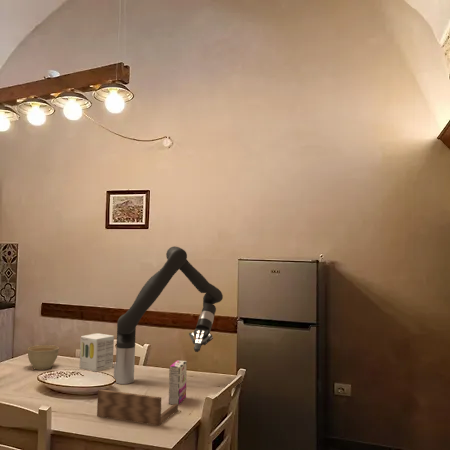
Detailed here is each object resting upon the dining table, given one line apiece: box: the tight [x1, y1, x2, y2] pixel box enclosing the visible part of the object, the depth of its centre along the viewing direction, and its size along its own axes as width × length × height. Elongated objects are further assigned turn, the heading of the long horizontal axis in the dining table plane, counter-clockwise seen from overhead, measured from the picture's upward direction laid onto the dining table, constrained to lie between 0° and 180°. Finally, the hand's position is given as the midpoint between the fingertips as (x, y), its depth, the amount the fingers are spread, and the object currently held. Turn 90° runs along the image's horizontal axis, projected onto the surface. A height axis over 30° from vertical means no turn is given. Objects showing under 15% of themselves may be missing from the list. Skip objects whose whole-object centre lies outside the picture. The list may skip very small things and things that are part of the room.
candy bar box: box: [168, 360, 188, 406], centre depth 207 cm, size 11×5×16 cm, turn 168°
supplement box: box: [79, 332, 115, 372], centre depth 259 cm, size 13×13×18 cm
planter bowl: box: [27, 344, 60, 371], centre depth 256 cm, size 16×16×11 cm
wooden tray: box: [96, 389, 179, 426], centre depth 190 cm, size 27×18×10 cm, turn 72°
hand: (196, 351), depth 228 cm, fingers closed
